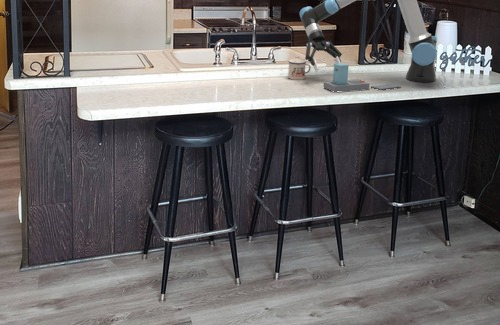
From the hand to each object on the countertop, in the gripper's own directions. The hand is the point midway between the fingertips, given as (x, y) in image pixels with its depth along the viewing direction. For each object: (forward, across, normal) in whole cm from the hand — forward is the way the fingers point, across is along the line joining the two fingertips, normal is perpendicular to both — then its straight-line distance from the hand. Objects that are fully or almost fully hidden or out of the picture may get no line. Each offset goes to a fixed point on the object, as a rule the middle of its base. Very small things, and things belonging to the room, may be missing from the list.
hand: (328, 69), depth 321 cm
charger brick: (+12, 0, +3) cm, 12 cm away
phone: (+17, -24, +5) cm, 30 cm away
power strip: (+13, -4, +2) cm, 14 cm away
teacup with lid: (-8, +6, -19) cm, 21 cm away
